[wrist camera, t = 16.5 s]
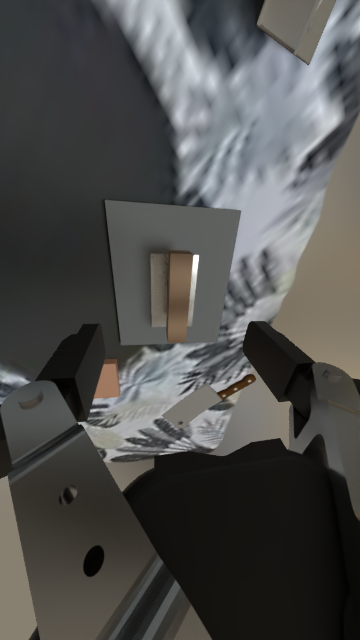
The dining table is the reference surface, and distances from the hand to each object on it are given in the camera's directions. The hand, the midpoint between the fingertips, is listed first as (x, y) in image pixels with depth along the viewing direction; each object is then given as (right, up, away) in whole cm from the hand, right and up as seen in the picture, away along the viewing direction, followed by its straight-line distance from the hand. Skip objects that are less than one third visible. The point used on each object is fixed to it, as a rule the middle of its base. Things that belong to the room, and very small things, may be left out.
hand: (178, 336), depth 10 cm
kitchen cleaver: (+7, -18, +35) cm, 40 cm away
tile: (-16, -7, +24) cm, 30 cm away
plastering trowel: (-1, +5, +20) cm, 20 cm away
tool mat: (-1, +7, +20) cm, 21 cm away
